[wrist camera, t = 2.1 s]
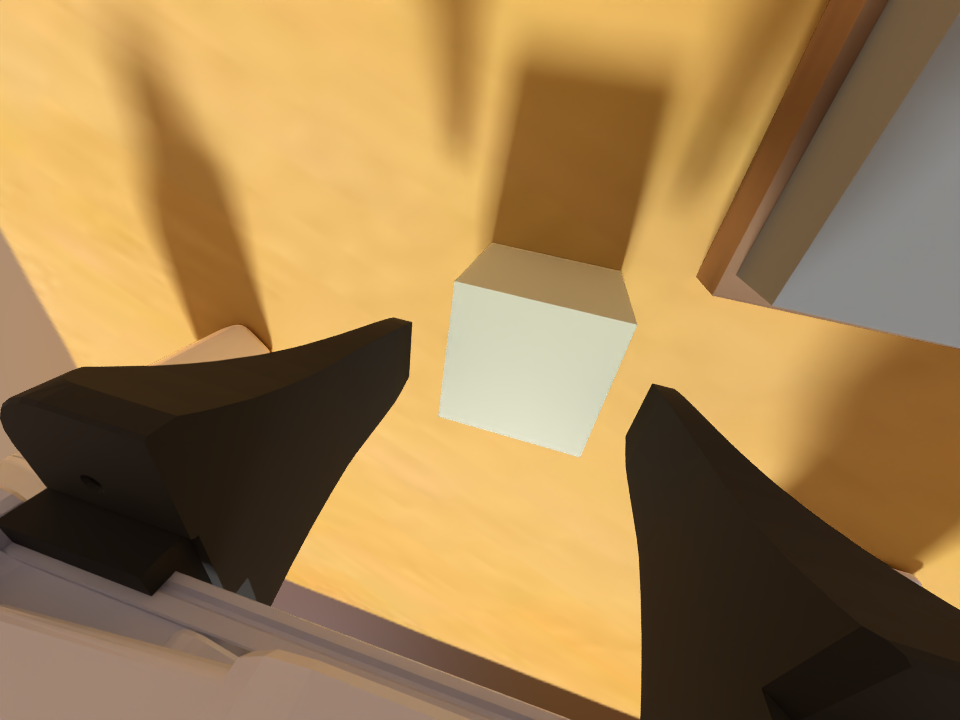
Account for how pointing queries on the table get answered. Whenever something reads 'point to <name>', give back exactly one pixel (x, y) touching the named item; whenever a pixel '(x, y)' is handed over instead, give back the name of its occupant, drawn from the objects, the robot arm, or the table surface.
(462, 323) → the sage cube
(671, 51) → the table surface
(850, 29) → the walnut base slab
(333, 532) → the table surface
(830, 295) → the slate gray middle block
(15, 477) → the eye dropper bottle
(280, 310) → the table surface
